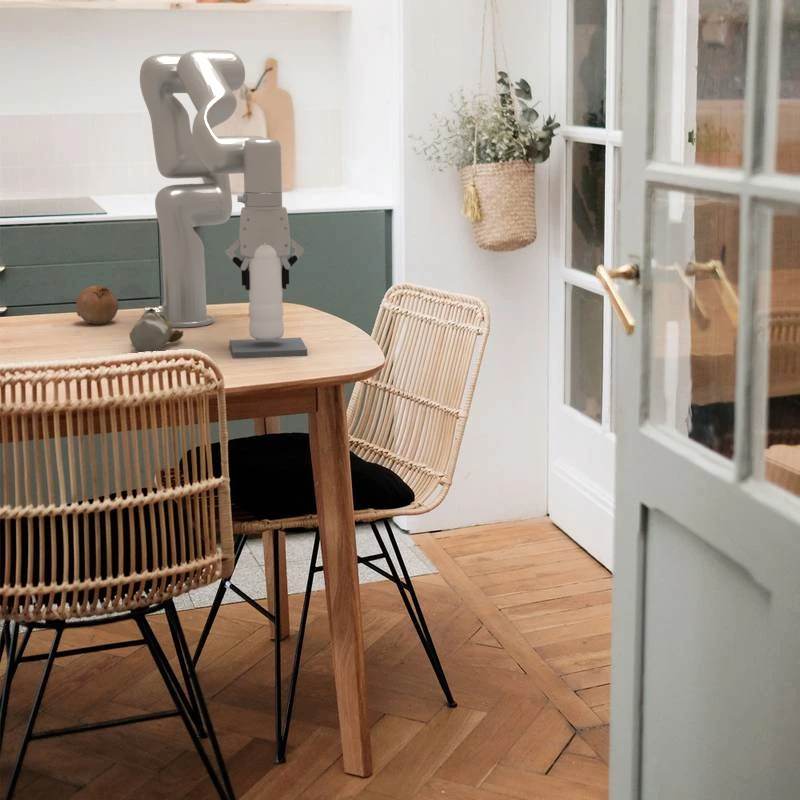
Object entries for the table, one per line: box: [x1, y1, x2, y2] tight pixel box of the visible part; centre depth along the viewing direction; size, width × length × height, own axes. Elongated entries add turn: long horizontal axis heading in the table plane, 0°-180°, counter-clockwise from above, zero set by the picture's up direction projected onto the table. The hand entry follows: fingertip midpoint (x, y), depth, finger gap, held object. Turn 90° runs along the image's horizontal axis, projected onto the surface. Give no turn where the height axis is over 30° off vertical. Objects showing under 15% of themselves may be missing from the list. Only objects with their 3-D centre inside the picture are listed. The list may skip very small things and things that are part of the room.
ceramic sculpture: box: [129, 309, 184, 352], centre depth 268 cm, size 11×9×15 cm
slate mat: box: [229, 337, 308, 359], centre depth 266 cm, size 15×13×1 cm
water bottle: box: [247, 243, 285, 340], centre depth 262 cm, size 7×7×25 cm
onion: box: [75, 284, 119, 325], centre depth 296 cm, size 10×9×10 cm
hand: (265, 287), depth 263 cm, fingers closed on water bottle, 6 cm apart
